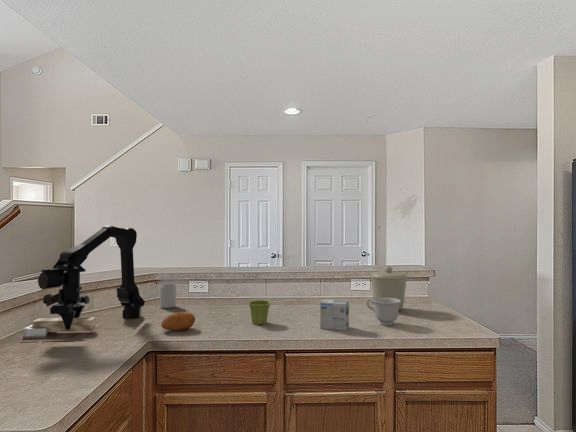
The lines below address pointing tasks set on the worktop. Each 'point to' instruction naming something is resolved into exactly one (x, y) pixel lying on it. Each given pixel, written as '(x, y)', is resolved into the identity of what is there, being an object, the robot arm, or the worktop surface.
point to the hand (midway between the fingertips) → (70, 327)
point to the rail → (59, 326)
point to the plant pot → (259, 311)
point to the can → (168, 295)
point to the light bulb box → (334, 314)
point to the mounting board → (65, 334)
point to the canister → (389, 284)
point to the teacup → (385, 309)
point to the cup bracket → (34, 332)
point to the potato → (178, 321)
